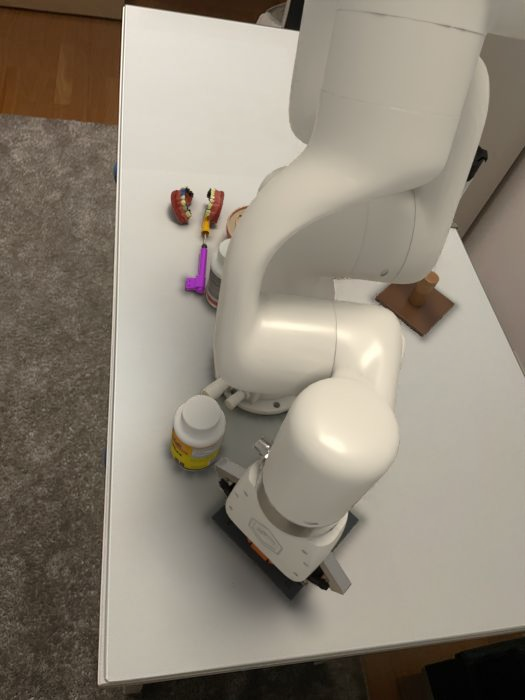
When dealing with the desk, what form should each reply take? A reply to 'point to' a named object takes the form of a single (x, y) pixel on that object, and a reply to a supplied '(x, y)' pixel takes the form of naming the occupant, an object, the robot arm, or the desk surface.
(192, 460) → the supplement bottle
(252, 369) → the robot arm
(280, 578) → the mat
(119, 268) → the desk surface
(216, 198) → the dental model
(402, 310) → the ring post
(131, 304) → the desk surface
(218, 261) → the pill bottle
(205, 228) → the purple and orange tool
